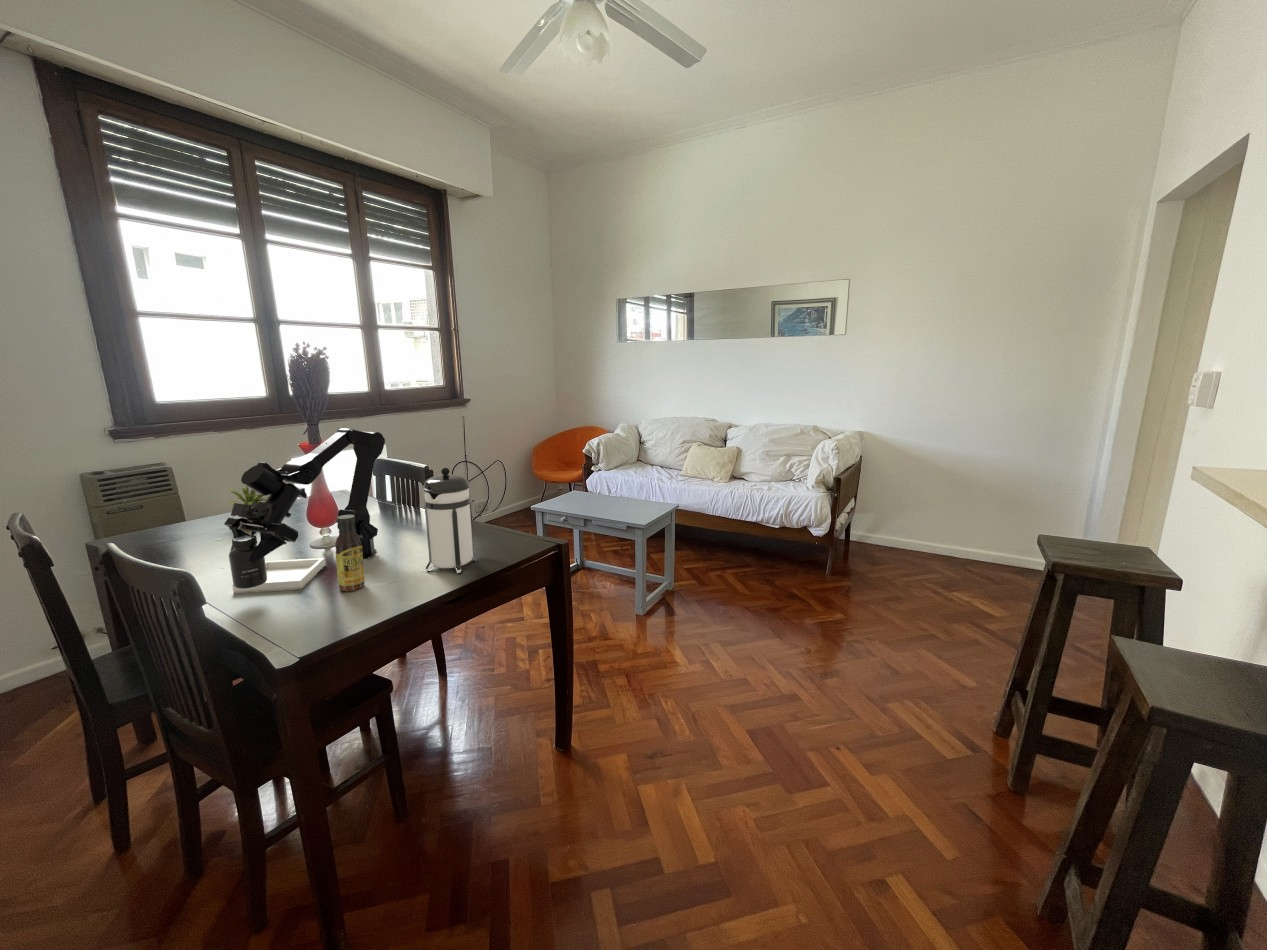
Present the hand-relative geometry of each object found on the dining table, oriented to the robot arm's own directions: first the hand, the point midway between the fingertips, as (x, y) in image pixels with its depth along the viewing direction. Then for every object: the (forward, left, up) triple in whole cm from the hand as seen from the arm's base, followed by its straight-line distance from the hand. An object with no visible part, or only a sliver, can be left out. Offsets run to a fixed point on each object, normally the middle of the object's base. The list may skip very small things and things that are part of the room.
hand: (241, 560), depth 122 cm
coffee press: (-46, -19, -12) cm, 51 cm away
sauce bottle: (-22, -7, -12) cm, 26 cm away
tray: (-1, -16, -12) cm, 20 cm away
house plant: (+33, -69, -12) cm, 77 cm away
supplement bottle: (-1, -1, -7) cm, 7 cm away
